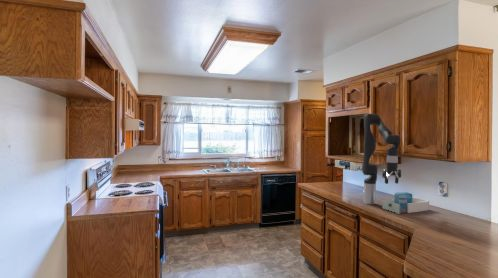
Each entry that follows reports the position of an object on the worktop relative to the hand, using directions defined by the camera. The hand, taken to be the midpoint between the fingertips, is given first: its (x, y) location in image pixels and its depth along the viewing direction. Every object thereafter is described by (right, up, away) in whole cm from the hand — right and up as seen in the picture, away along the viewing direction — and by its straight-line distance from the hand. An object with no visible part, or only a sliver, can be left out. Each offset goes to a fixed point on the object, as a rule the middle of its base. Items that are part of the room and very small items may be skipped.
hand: (391, 183), depth 215 cm
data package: (+14, -21, +11) cm, 28 cm away
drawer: (+11, -22, +9) cm, 26 cm away
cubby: (+21, -22, +13) cm, 33 cm away
